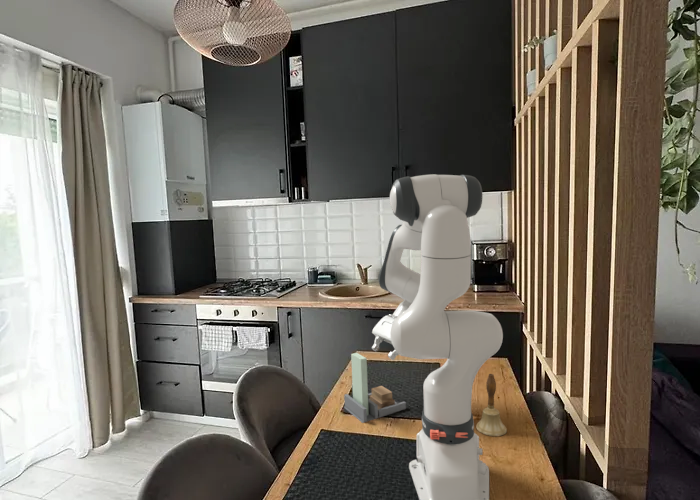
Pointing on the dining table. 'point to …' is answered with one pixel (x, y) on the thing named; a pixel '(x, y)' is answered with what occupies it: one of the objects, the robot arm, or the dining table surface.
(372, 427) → the dining table surface
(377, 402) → the bottom offcut
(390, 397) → the top offcut
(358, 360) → the sage panel
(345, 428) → the dining table surface
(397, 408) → the charcoal rack
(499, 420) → the hand bell
